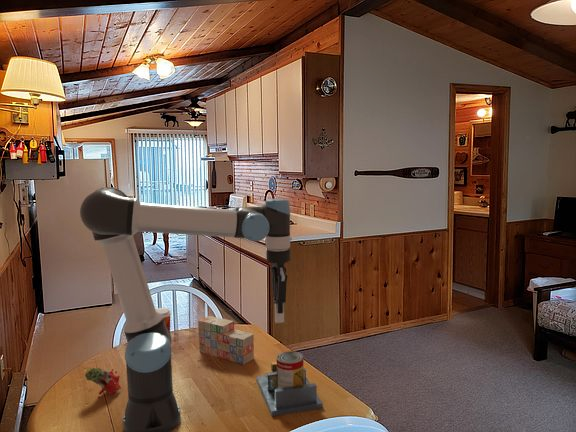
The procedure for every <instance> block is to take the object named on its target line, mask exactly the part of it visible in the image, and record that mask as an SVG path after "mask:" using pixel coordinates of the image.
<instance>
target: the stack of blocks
mask: <svg viewBox="0 0 576 432" xmlns="http://www.w3.org/2000/svg"><path fill="white" fill-rule="evenodd" d="M234 322H235V321H234V320H230V319H226V318H220V317H216V316H212V315H209V316H205V317H204V318H201V319H198V320H197V323H198V325H197V328H198V329H197V330H198V339H199V342H198V343H199V344H198V345H199V352H201V353H204V354H207V355H210V356H213V357H216V358H220V359H224V360H227V361H230V362H234V363H237V364H239V365H245V364H246V363H248V362H251V361H252V360H254V359H255V351H254V350H255V348H254V341H255V339H254V338H255V337H254V333H250V332H247V331H243V330H239V329H235V323H234Z"/></svg>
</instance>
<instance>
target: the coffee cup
mask: <svg viewBox="0 0 576 432" xmlns="http://www.w3.org/2000/svg"><path fill="white" fill-rule="evenodd" d="M155 310H156V312H157V313H160V314H162V315H163V318H164V321H165V325H166V327H167V328H168V330H169V332H170V333H171V315H172V312H171V311H170V309H169V308H168V307H159V308H158V307H157V308H155Z"/></svg>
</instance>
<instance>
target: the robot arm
mask: <svg viewBox="0 0 576 432" xmlns="http://www.w3.org/2000/svg"><path fill="white" fill-rule="evenodd" d="M290 206H291V205H290V202H289V200H288V199H286V198H269V199H266V200H265V202H264V205H261V206H236V207H229V208H227V209H223V208H210V207H209V208H208V207H197V206H196V207H195V206H187V205H185V206H184V205H173V204H172V205H171V204H164V203H163V204H160V203H149V202H141V201H139V200H138V199H137V198H136V197H128V195H127V194H126V193H125V192H123V191H122V190H120V189H118V188H116V187H110V186H108V187H101V188H98V189H96V190H94V191H93V192H91V193H90V194H88V195H87V196H86V197H85V198H84V199H83V201H82V202H81V205H80V208H79V209H80V210H79V217H80V218H81V219H80V220H81V222H82V224H83V225H84V226H85V227H86V228H87V229H88V230H89V231H91V232H92V236H93V239H94V241H95V242H97V243H98V244H101V246H102V248H103V251H104V252H103V253H104V254H105V257H106V260H107V264H108V267H109V270H110V273H111V276H112V280H113V282H114V286H115V290H116V292H117V293H116V294H117V296H118V299H119V302H120V305H121V308H122V311H123V315H124V318H125V320H126V323H125V324H124V327H123V328H122V329H123V333H124V336H125V340H126V342H127V344H126V347H125V352H124V360H125V366H126V380H127V382H126V383H127V393H128V394H127V398H128V399H127V403H126V405H125V407H126V408H125V411H124V415H123V418H122V426H123V428H122V429H123V431H124V432H171V431H173V430H174V429H176V428H177V427H178V425H179V424H180V422H181V420H182V417H181V408H180V406H179V404H178V403H177V400H176V395H175V394H174V392H173V389H174V387H173V372H172V371H173V370H172V369H173V368H172V335H171V331H170V332H169V330H168V328H167V327H166V325H165V321H164V318H163V315H162V314H160V313H157V312H156V310H155V309H156V307H155V304H154V300H153V297H152V294H151V290H150V287H149V285H148V281H147V277H146V274H145V271H144V268H143V264H142V262H141V257H140V255H139V252H138V251H139V250H138V249H137V245H136V242H135V238H134V235H135V234H137V233H141V232H142V233H153V234H154V233H156V234H157V233H158V234H170V235H187V236H189V235H191V236H202V237H203V236H206V237H220V238H236V239H246V240H247V241H251V242H259V241H262V240H264V239H265V248H266V251H265V255H266V257H265V259H266V262H268V263H271V264H272V266H270V273H271V285H272V287H271V288H272V298H273V300H274V301H273V304H274V322H275V324H280V323H285V303H286V301H287V299H286V298H287V283H288V282H287V281H288V275H287V267H285V264H286V263H289V262H290V261H291V256H292V255H291V249H290V248H291V241H292V240H293V238H292V237H291V208H290Z"/></svg>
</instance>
